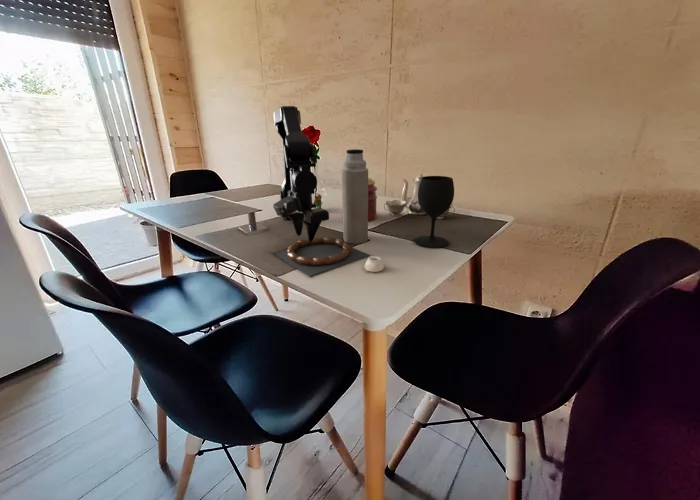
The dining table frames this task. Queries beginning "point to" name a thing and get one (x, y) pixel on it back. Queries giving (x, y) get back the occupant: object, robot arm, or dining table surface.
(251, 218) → the metal peg stand
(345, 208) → the thermos bottle
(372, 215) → the kitchen canister
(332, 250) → the mat
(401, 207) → the chinaware
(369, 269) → the white jar
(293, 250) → the ring
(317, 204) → the figurine
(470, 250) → the dining table surface
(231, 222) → the dining table surface
